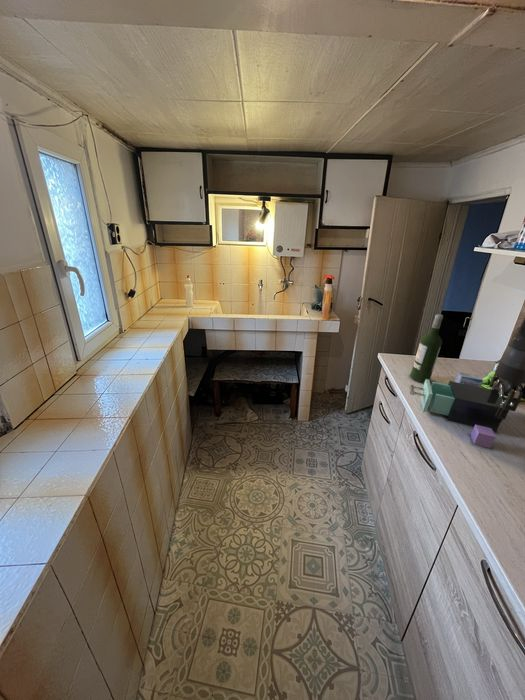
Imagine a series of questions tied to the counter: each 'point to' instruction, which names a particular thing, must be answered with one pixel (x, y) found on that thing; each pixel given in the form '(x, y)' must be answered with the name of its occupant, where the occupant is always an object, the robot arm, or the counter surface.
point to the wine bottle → (427, 353)
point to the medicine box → (469, 379)
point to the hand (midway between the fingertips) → (494, 410)
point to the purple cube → (483, 436)
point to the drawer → (435, 397)
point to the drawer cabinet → (473, 406)
